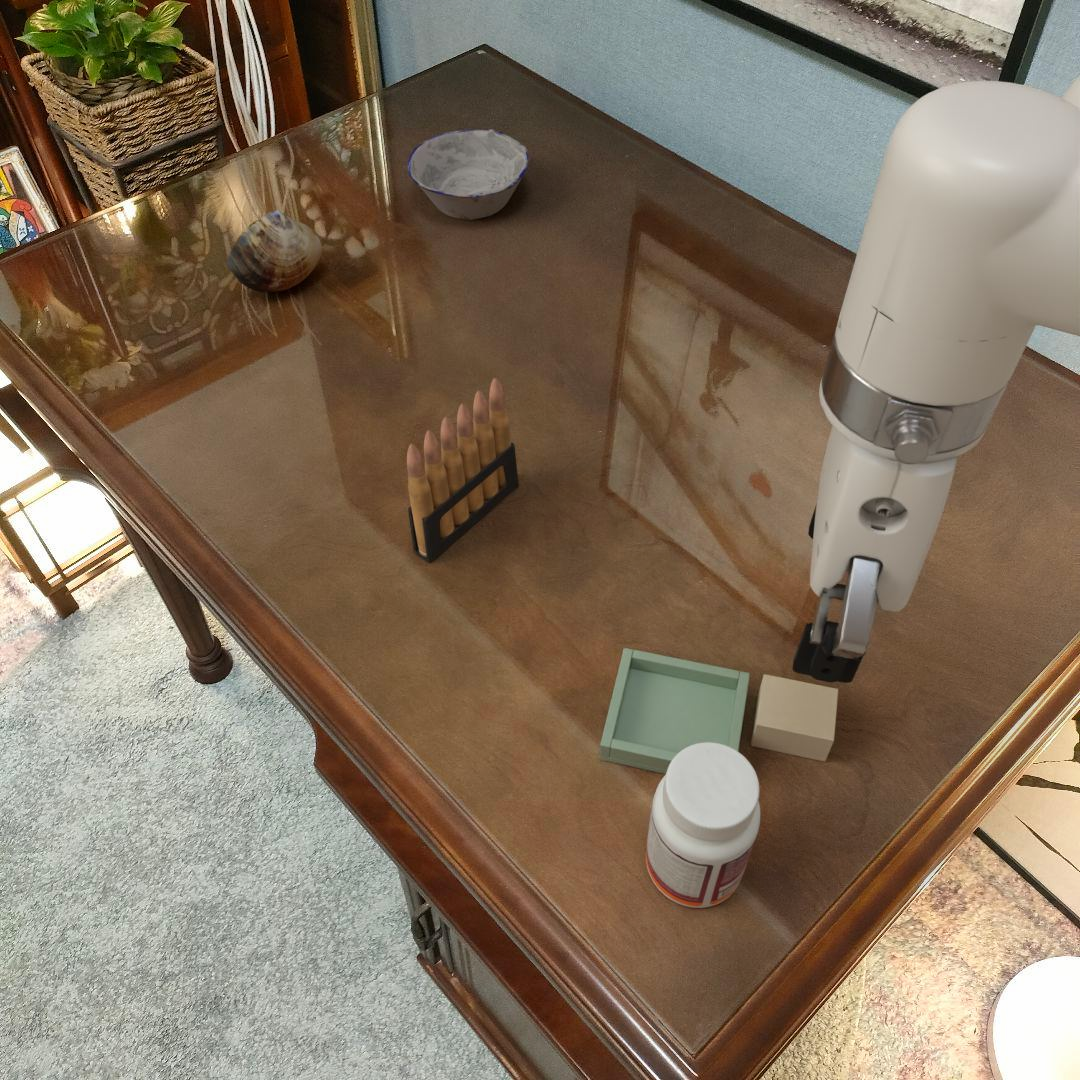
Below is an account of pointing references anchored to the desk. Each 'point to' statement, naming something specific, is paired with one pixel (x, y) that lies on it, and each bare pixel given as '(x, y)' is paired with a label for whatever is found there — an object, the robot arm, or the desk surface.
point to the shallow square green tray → (670, 709)
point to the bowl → (469, 171)
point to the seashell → (274, 253)
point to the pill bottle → (703, 825)
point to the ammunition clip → (460, 474)
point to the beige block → (795, 717)
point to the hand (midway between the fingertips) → (828, 602)
